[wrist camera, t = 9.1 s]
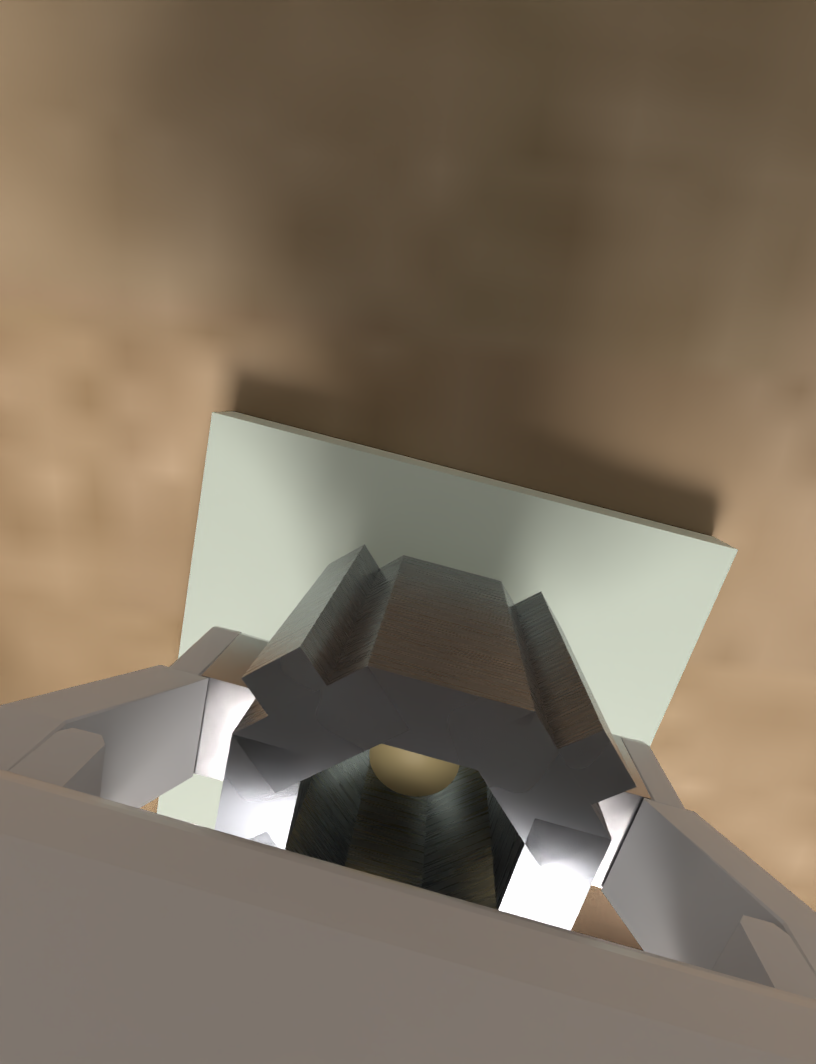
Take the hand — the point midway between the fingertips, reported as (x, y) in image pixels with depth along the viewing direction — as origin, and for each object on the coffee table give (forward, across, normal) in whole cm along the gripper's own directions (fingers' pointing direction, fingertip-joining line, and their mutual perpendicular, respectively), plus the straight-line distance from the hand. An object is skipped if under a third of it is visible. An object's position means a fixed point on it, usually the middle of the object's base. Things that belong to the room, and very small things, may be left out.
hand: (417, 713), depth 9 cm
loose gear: (+2, 0, 0) cm, 2 cm away
